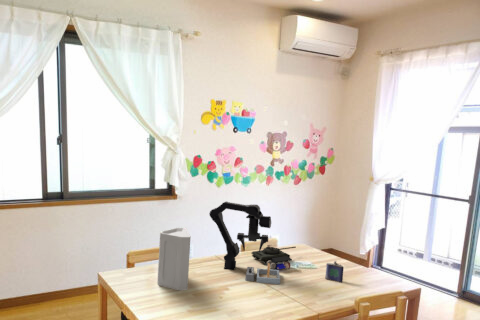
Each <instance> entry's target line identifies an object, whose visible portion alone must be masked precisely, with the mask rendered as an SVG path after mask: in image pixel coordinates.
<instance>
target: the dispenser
mask: <svg viewBox="0 0 480 320" xmlns="http://www.w3.org/2000/svg"><path fill="white" fill-rule="evenodd" d="M244 279H245V281H247V282H255V267H254V266H247V267H246V272H245V278H244Z"/></svg>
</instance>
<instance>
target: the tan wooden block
mask: <svg viewBox="0 0 480 320" xmlns="http://www.w3.org/2000/svg"><path fill="white" fill-rule="evenodd" d="M266 267H267V268H266V269H267V274H266V277H267V278H270V275H269V272H270V269H271V267H270V264H269V263H268V265H267V266H266Z"/></svg>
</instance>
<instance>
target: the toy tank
mask: <svg viewBox="0 0 480 320" xmlns="http://www.w3.org/2000/svg"><path fill="white" fill-rule="evenodd" d="M289 249H296V246H291V247H283V248H282V247H281V248H279V247H274V246H271V245H270V244H267V247H265V248H262V249H261V250H260V252H259V250H254V251H251V257H252V258H254V259H255V260H260V261H259V262H260V263H262V264H263V265H266V264H267V261H269V260H271V261H272V258H276V257H284V256H288V257H290V258H291V255H290V254H289V253H287V252H284V251H282V250H289Z"/></svg>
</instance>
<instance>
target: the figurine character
mask: <svg viewBox="0 0 480 320" xmlns="http://www.w3.org/2000/svg"><path fill="white" fill-rule="evenodd" d="M292 261H293V258H291V256H290V257H288V256H284V257H276V258H272V261H271V260H269V261H267V266H268V263H269V264H270V269H271V270H282V269H285V270H290V268H291V265H292V264H291V262H292ZM278 262H279V263H278Z"/></svg>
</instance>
